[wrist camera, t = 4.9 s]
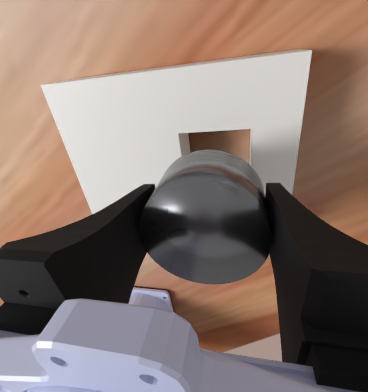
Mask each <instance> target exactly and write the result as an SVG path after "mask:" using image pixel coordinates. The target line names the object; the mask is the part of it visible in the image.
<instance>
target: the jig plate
mask: <svg viewBox="0 0 368 392" xmlns="http://www.w3.org/2000/svg"><path fill="white" fill-rule="evenodd" d="M311 54H312V50H304V49H296V50H289V51H281V52H274V53H266V54H258V55H251V56H243V57H236V58H228V59H220V60H213V61H205V62H198V63H190V64H183V65H175V66H167V67H160V68H152V69H145V70H137V71H129V72H122V73H114V74H107V75H99V76H91V77H84V78H76V79H69V80H64V81H59V82H54V83H49V84H44V85H41V87H42V90H43V92H44V95H45V97H46V100H47V102H48V105H49V107H50V110H51V112H52V115H53V117H54V120H55V122H56V125H57V127H58V130H59V132H60V135H61V137H62V140H63V142H64V145H65V147H66V150H67V152H68V155H69V157H70V160H71V162H72V165H73V167H74V170H75V172H76V175H77V177H78V180H79V182H80V185H81V187H82V190H83V192H84V195H85V197H86V199H87V202H88V204H89V207H90V209H91V212H92V214H94V213H96V212H98V211H100V210H102V209H104V208H105V207H107V206H109V205H110V204H112V203H114V202H115V201H117V200H119V199H120V198H122V197H123V196H125V195H127V194H128V193H130V192H131V191H133V190H134V189H136V188H138V187H139V186H141V185H143V184H155V188H156V187H157V185H158V183H159V182H160V180H161V178H162V177H163V175H164V173H165V172H166V170H167V169H168V167H169V166H170V165H171V164H172V163H173V162H174V161H176V160H177V159H178V158H180V157H182V156H183V155H186V154H188V153H190V143H189V135H188V133H194V132H210V131H226V130H242V129H250V166H251V167H252V168H253V169H254V170H255V172H256V173H257V174H258V176H259V178H260V179H261V182H262V185H263V188H264V193H266V183H281V184H282V185H283V186H284V187H285V189H286V190H287V191H288V192H289V193H290V194H291V195H292V193H293V186H294V179H295V171H296V164H297V157H298V149H299V142H300V135H301V127H302V120H303V113H304V106H305V98H306V91H307V84H308V76H309V69H310V62H311Z"/></svg>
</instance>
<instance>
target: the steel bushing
mask: <svg viewBox="0 0 368 392" xmlns="http://www.w3.org/2000/svg"><path fill="white" fill-rule="evenodd" d="M139 234H140V238H141V241H142V244H143V246H144V248H145V249H146V251H147V252H148V254H149V255H150V256H151V257H152V259H153V260H154V261H155V262H156V263H158V264H159V265H160V266H161V267H162V268H164V269H165V270H167V271H168V272H170V273H172V274H174V275H176V276H178V277H180V278H183V279H186V280H189V281H192V282H197V283H204V284H225V283H231V282H235V281H238V280H241V279H244V278H246V277H248V276H250V275H251V274H253V273H254V272H256V271H257V270H258V269H259V268H260V267H261V266H262V265H263V264H264V262H265V261H266V259H267V257H268V255H269V252H270V249H271V231H270V225H269V219H268V212H267V206H266V200H265V193H264V188H263V185H262V182H261V179H260V178H259V176H258V174H257V173H256V172H255V170H254V169H253V168H252V167H251V166H250V165H249V164H248V163H247V162H245V161H244V160H243V159H241V158H239V157H237V156H235V155H233V154H230V153H228V152H224V151H219V150H199V151H194V152H190V153H188V154H186V155H183V156H182V157H180V158H178V159H177V160H176V161H174V162H173V163H172V164H171V165H170V166H169V167H168V169H167V170H166V172H165V173H164V175H163V177H162V178H161V180H160V182H159V183H158V185H157V187H156V188H155V190H154V192H153V194H152V195H151V197H150V199H149V200H148V202H147V204H146V205H145V207H144V209H143V211H142V213H141V216H140V220H139Z"/></svg>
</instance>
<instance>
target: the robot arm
mask: <svg viewBox="0 0 368 392" xmlns="http://www.w3.org/2000/svg"><path fill="white" fill-rule="evenodd" d="M154 190H155V184H143V185H141V186H139V187H138V188H136V189H134V190H133V191H131V192H130V193H128V194H127V195H125V196H123V197H122V198H120V199H119V200H117V201H115V202H114V203H112V204H110V205H109V206H107V207H105V208H104V209H102V210H100V211H98V212H96V213H94V214H92V215H90V216H88V217H86V218H84V219H82V220H79V221H77V222H74V223H72V224H69V225H67V226H64V227H61V228H59V229H56V230H53V231H50V232H46V233H43V234H40V235H36V236H32V237H28V238H24V239H20V240H16V241H12V242H8V243H6V244H5V245H3V246H2V247H1V248H0V298H1V299H2V300H3V301H4V304H3V305H2V306H1V307H0V392H368V245H366V244H364V243H362V242H360V241H358V240H356V239H354V238H352V237H350V236H348V235H346V234H344V233H343V232H341V231H339V230H337V229H336V228H334V227H332V226H331V225H329V224H328V223H326V222H325V221H323V220H321V219H320V218H319V217H317V216H316V215H315V214H313V213H312V212H311V211H309V210H308V209H307V208H306V207H304V206H303V205H302V204H301V203H300V202H299V201H298V200H297V199H296V198H294V197H293V196H292V195H291V194H290V193H289V192H288V191H287V190H286V189H285V187H284V186H283V185H282V184H281V183H266V193H265V200H266V206H267V212H268V219H269V225H270V231H271V249H270V252H269V254H270V258H271V263H272V267H273V272H274V278H275V285H276V294H277V304H278V314H279V325H280V337H281V348H282V362H278V361H273V360H266V359H260V358H254V357H247V356H241V355H234V354H228V353H221V352H215V351H209V350H206V349H203V348H200V347H199V341H198V336H197V334H196V332H195V331H194V329H193V328H192V326H191V324H190V323H189V322H188V321H187V320H185V319H184V318H182V317H181V316H179V315H178V314H176V313H175V312H173V308H172V304H171V299H170V295H169V292H168V291H165V290H156V289H146V288H136V287H134V284H135V281H136V278H137V275H138V272H139V269H140V266H141V264H142V262H143V259H144V257H145V255H146V253H147V251H146V249H145V248H144V246H143V244H142V241H141V238H140V234H139V220H140V216H141V213H142V211H143V209H144V207H145V205H146V204H147V202H148V200H149V199H150V197H151V195H152V194H153V192H154Z"/></svg>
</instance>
